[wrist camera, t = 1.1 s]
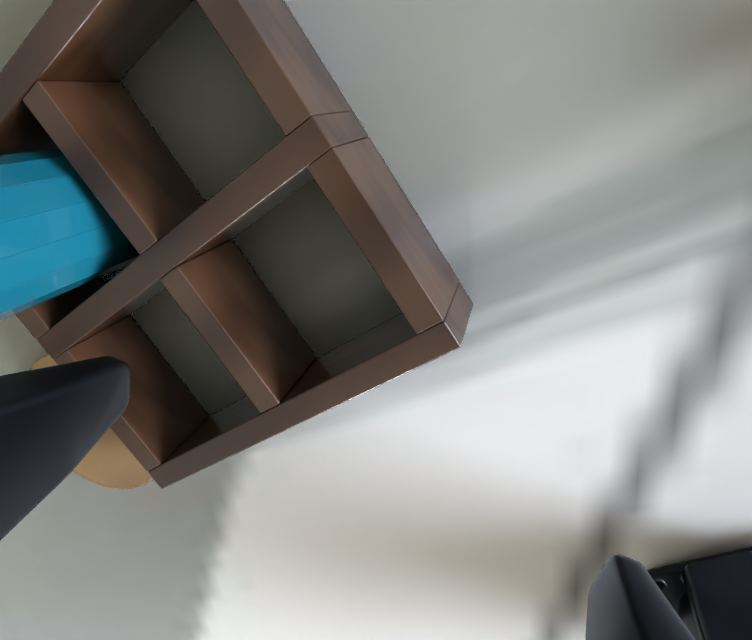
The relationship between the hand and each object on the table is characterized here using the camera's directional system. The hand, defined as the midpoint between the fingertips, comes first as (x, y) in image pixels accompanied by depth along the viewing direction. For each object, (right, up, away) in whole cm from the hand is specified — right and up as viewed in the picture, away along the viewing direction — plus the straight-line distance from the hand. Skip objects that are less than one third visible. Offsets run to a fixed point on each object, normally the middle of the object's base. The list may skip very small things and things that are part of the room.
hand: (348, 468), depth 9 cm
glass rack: (-7, +6, +14) cm, 16 cm away
